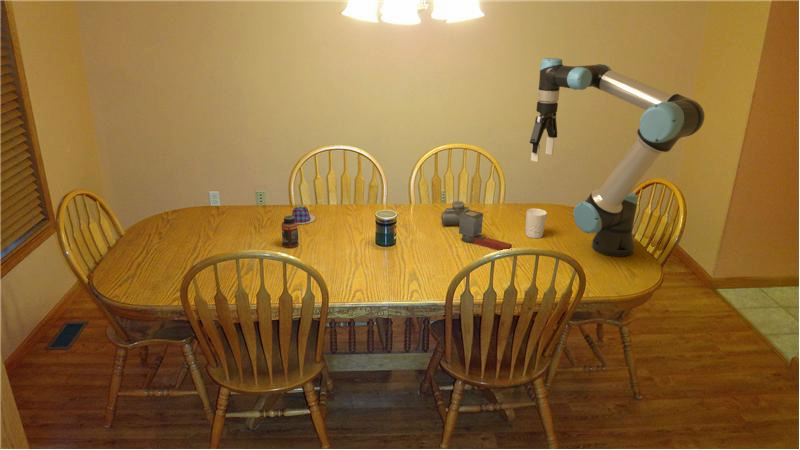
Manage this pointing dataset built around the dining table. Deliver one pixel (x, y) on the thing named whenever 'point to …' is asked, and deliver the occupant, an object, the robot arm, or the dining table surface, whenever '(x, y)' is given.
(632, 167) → the robot arm
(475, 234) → the dark metal cube
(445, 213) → the pipe fitting
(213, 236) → the dining table surface
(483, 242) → the ratchet
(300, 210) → the purple plaid hat
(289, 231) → the supplement bottle
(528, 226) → the white cup
